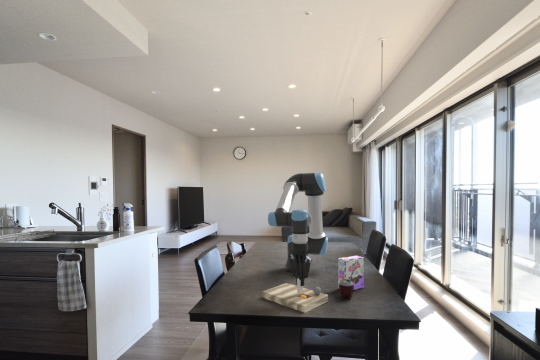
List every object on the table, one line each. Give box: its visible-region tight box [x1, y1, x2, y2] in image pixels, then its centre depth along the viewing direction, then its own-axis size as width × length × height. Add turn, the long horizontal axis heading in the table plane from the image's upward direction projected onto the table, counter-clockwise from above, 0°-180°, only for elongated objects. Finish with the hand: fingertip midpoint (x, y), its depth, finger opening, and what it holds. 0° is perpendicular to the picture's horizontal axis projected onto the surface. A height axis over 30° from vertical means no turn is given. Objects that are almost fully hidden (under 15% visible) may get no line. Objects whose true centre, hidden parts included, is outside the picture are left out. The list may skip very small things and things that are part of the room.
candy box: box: [337, 255, 365, 291], centre depth 154 cm, size 14×6×16 cm, turn 117°
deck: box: [262, 282, 329, 314], centre depth 139 cm, size 26×18×3 cm
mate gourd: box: [339, 268, 357, 301], centre depth 142 cm, size 8×8×15 cm
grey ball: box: [312, 286, 322, 295], centre depth 137 cm, size 4×4×4 cm
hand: (300, 292), depth 137 cm, fingers closed
